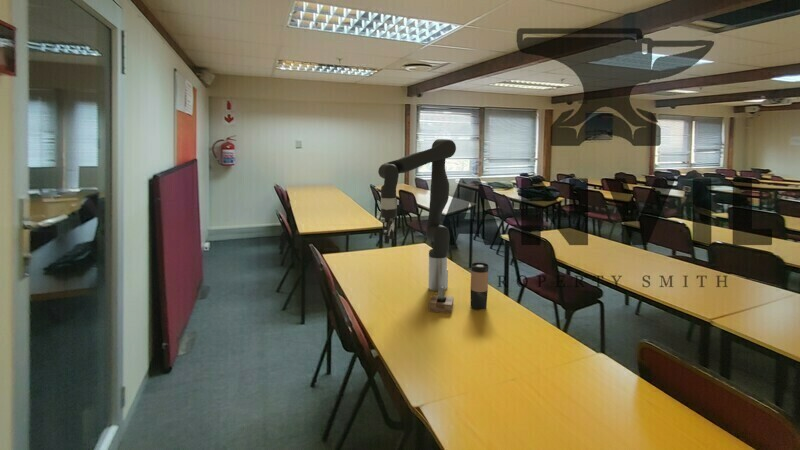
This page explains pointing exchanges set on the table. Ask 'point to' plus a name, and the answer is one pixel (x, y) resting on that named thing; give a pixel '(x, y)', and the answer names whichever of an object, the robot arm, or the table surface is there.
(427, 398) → the table surface
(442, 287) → the pin
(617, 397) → the table surface
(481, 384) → the table surface
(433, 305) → the slot block
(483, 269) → the travel mug
